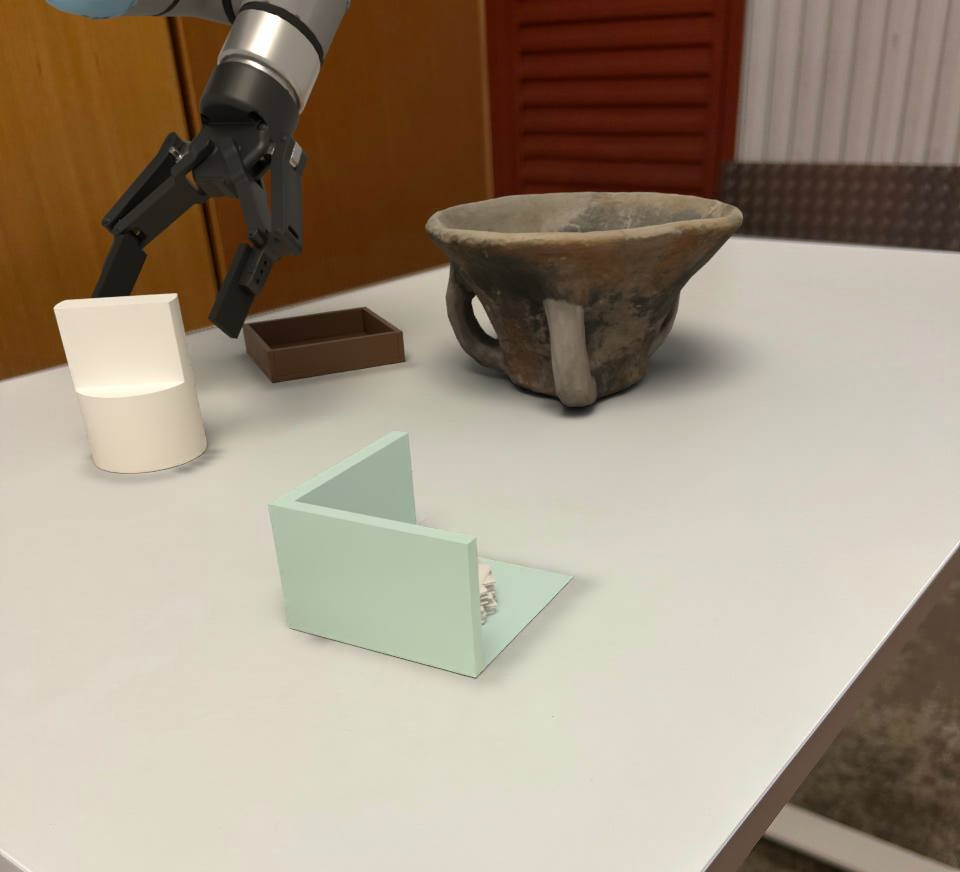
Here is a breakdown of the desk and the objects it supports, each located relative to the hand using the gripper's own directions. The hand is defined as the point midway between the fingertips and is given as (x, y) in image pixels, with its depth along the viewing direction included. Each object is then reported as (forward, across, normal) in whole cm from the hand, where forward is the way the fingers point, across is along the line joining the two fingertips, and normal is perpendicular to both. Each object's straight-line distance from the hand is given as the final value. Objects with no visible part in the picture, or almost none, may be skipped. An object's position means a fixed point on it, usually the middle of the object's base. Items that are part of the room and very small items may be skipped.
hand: (160, 321), depth 78 cm
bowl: (-13, -23, -27) cm, 38 cm away
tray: (-10, +5, -24) cm, 27 cm away
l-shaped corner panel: (+17, -35, +3) cm, 39 cm away
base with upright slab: (+10, 0, -4) cm, 10 cm away
